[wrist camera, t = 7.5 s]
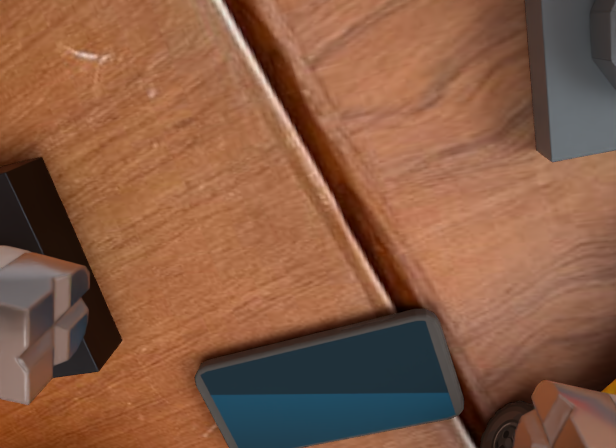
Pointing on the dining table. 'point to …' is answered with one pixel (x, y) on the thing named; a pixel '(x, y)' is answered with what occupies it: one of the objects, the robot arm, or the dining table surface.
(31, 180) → the plate
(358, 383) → the smartphone
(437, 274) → the dining table surface
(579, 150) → the grey button base
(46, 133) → the dining table surface
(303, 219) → the dining table surface
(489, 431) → the motor vehicle
